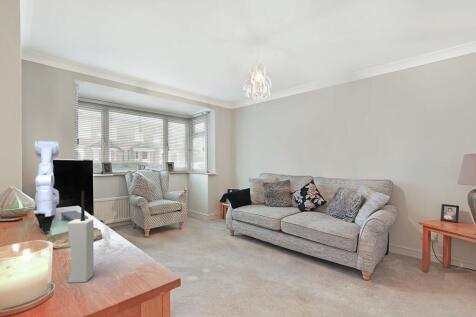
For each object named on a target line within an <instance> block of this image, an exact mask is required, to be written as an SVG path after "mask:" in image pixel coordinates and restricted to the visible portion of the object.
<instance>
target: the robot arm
mask: <svg viewBox="0 0 476 317" xmlns="http://www.w3.org/2000/svg"><path fill="white" fill-rule="evenodd" d="M33 145H34V146H33V147H34V153H35V155H36V157H38V158H40V160H41V162H40V163H38V165H37V175H36V176H35V183H34V184H35V188H36V189H35V191H36V192H35V196H34V206H35V207H36V210H33V211H32V212H33V214H34V216H35V217H36V219H37V221H36V222H35V223H36V225H38V226H39V229H40V230H41V229H42V231H43V232H44V233H47V231H50V228H51V224H52V223H55V222H59V221H58V220H57V206H58V205H59V204H60V193H59V190H57V189H56V188H54V185H55V176H54V164H53V161H54V158H56V157H59V151H60V143H59V141H58V140H37V139H36V140H35V141H34V144H33Z"/></svg>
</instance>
